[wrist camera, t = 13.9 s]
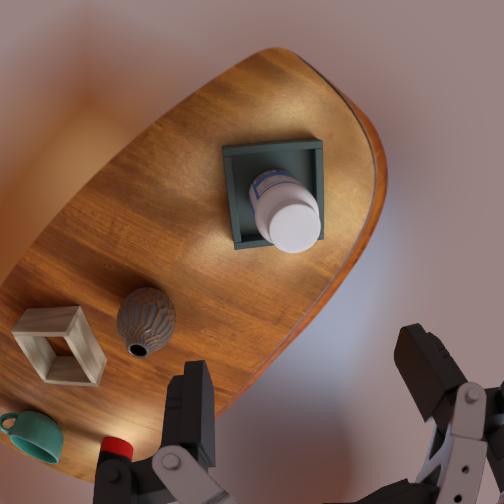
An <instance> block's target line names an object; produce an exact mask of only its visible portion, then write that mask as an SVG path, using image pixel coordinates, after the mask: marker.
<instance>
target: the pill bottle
mask: <svg viewBox="0 0 504 504" xmlns="http://www.w3.org/2000/svg"><path fill="white" fill-rule="evenodd" d="M249 201H250V205H251V208H252V212H253V215H254V219H255V222H256V225H257V228H258V230H259V232H260V234H261V235H262V236H263V237H264V238H265V239H266V240H267V241H269V242H270V243H272V244H274V245H275V246H276V247H277V248H278V249H280V250H282V251H284V252H288V253H298V252H302V251H304V250H306V249H308V248H310V247H311V246H312V245H313V244H314V243H315V242H316V240H317V239H318V237H319V234H320V230H321V223H320V219H319V209H318V205H317V202H316V200H315V199H314V197H313V196H312V195H311V193H310V192H309V191H308V190H307V189H306V188H305V187H304V186H303V185H302V184H301V183H300V182H299V181H298V180H297V179H296V178H295V177H294V176H293V175H291V174H290V173H288V172H286V171H283V170H279V169H273V170H268V171H265V172H263V173H261V174H260V175H259V176H257V177H256V179H255V180H254V181H253V183H252V184H251V187H250V190H249Z"/></svg>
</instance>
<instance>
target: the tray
mask: <svg viewBox="0 0 504 504" xmlns="http://www.w3.org/2000/svg"><path fill="white" fill-rule="evenodd" d="M322 148H323V143H322V140H319V139H317V138H312V139H294V140H280V141H267V142H256V143H246V144H237V145H228V146H222V153H223V161H224V169H225V178H226V186H227V194H228V202H229V210H230V218H231V225H232V233H233V241H234V249H235V250H238V249H246V248H255V247H263V246H271V245H274V244H272V243H270V242H269V241H267V240H266V239H265V238H264V237H263V236H262V235H261V234H260V232H259V230H258V228H257V225H256V222H255V219H254V215H253V212H252V208H251V205H250V201H249V190H250V187H251V184H252V183H253V181H254V180H255V179H256V177H257V176H259V175H260V174H261V173H263V172H265V171H268V170H273V169H279V170H283V171H286V172H288V173H290V174H291V175H293V176H294V177H295V178H296V179H297V180H298V181H299V182H300V183H301V184H302V185H303V186H304V187H305V188H306V189H307V190H308V191H309V192H310V193H311V195H312V196H313V197H314V199H315V200H316V202H317V205H318V209H319V219H320V223H321V230H320V234H319V237H318V239H317V240H322V239H324V173H323V149H322Z"/></svg>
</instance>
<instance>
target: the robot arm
mask: <svg viewBox="0 0 504 504" xmlns="http://www.w3.org/2000/svg"><path fill="white" fill-rule="evenodd" d="M394 361H395V364H396V366H397V368H398V370H399V372H400V374H401V376H402V378H403V380H404V381H405V383H406V385H407V387H408V389H409V391H410V393H411V395H412V397H413V399H414V401H415V403H416V405H417V407H418V409H419V411H420V413H421V415H422V417H423V419H424V422H425V423H426V422H429V421H431V420H434V421H435V423H436V425H435V426H434V430H433V434H432V438H431V441H430V445H429V448H428V452H427V455H426V459H425V462H424V464H423V466H422V468H421V470H420V472H419V473H418V475H417V478H416V480H415V483H409V482H408V479H407V478H406V479H404V480H401V481H398V482H396V483H393V484H390V485H387V486H384V487H382V488H380V489H378V490H377V491H375V492H373V493H371V494H370V495H368V496H366V497H364V498H363V499H361V500H359V501H357V502H353V503H323V504H476V501H477V496H478V493H479V489H480V484H481V480H482V475H483V470H484V465H485V459H486V457H487V459H488V462H489V464H490V467H491V469H492V472H493V474H494V477H495V479H496V482H497V485H498V488H499V491H500V493H501V495H500V497H499V501H498V503H497V504H504V381H503V383H502V384H501V386H500V387H496V388H488V389H483V388H482V387H481V386H480V385H478V384H476V383H473V382H468V381H467V379H466V378H465V376H464V375H463V373H462V372H461V370H460V368H459V367H458V365H457V364H456V363H455V361H454V359H453V358H452V357H451V356H450V354H449V352H448V351H447V349H445V346H444V345H443V344H442V342H441V341H440V339H438V338H437V337H436V336H434V335H433V334H432V333H430V332H428V333H426V332H425V330H424V329H423V327H422V326H421V325H420V324H419V323H416V324H412V325H408V326H405V327H402V328H401V329H400V333H399V336H398V340H397V343H396V347H395V350H394ZM166 399H167V400H166V404H165V413H164V422H163V431H162V441H161V445H160V447H159V449H158V451H157V452H156V453H155V454H154V455H153V456H151V457H149V458H147V459H145V460H141V461H137V462H133V463H128V464H126V463H124V462H123V461H121V460H117V459H110V460H107V461H104V462H103V463H102V464H100V466H99V467H98V468H97V471H96V476H95V485H94V497H93V504H167V503H171V502H175V501H178V502H179V503H180V504H240V503H238V502H237V501H236V500H235V499H234V498H233V497H232V496H231V495H230V494H229V493H227V492H226V491H225V490H224V489H223V488H221V487H220V486H219V485H218V484H217V482H216V481H214V479H213V478H212V477H211V476H209V474H208V467H216V465H215V416H214V389H213V384H212V380H211V377H210V374H209V371H208V368H207V365H206V362H205V360H199V361H186V362H185V367H184V375H176V376H174V377H173V378H172V380H171V382H170V383H169V385H168V388H167V396H166Z"/></svg>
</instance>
